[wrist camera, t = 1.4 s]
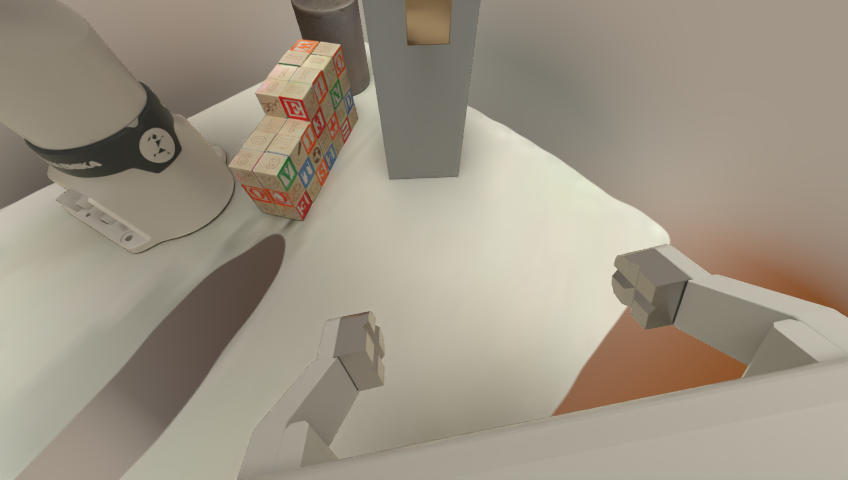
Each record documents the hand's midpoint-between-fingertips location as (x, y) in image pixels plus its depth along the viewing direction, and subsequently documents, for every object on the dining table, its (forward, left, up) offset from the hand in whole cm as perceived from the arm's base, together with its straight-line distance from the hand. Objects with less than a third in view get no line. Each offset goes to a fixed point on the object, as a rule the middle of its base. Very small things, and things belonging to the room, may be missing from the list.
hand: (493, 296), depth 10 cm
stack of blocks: (-27, +24, -26) cm, 44 cm away
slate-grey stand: (-12, +30, -25) cm, 41 cm away
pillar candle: (-31, +43, -25) cm, 59 cm away
